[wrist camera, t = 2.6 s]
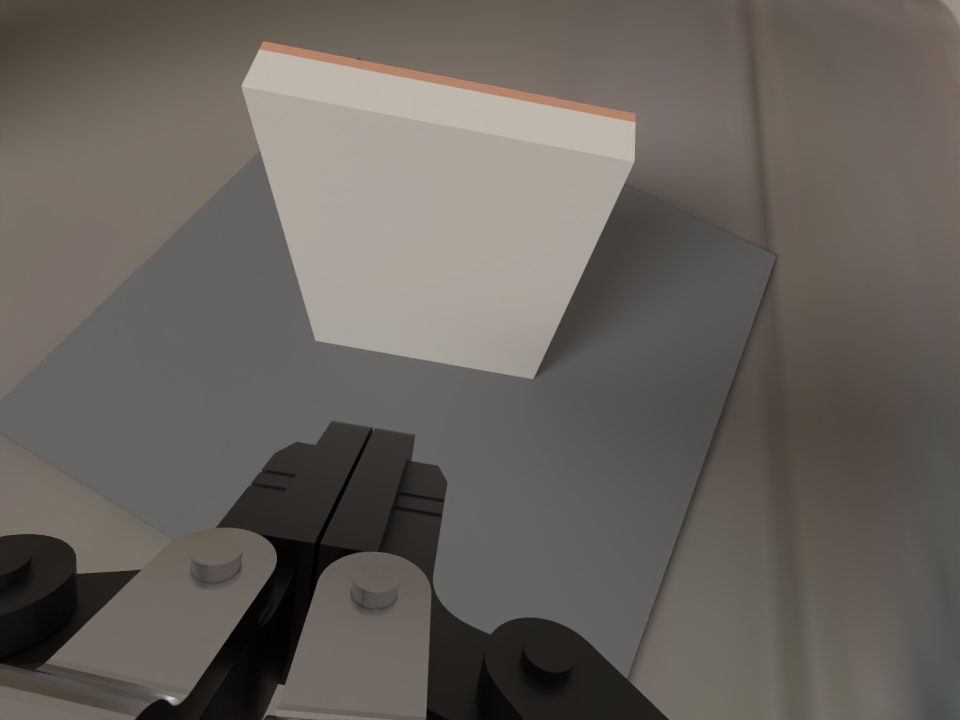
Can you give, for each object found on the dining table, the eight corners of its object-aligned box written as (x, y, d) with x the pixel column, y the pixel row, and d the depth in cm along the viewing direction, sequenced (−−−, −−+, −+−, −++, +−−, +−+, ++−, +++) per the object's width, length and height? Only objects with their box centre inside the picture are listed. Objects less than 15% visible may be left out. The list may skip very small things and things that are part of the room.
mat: (-11, 425, 21) (-20, 420, 21) (358, 65, 32) (357, 57, 31) (581, 790, 18) (586, 794, 18) (771, 261, 29) (776, 255, 29)
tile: (533, 379, 24) (634, 161, 13) (315, 340, 24) (241, 86, 13) (536, 345, 25) (635, 113, 14) (325, 307, 24) (263, 41, 14)
